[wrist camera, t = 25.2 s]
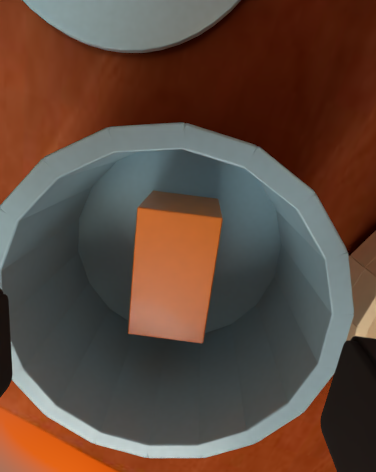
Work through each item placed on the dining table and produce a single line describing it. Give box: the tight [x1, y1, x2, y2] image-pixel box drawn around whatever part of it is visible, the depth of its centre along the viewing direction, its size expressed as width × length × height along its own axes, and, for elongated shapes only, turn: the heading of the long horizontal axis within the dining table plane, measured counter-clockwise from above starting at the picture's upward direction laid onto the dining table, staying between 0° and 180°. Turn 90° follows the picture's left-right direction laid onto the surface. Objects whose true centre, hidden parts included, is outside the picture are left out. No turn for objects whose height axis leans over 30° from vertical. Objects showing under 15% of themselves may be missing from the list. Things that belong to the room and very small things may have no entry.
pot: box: [0, 122, 354, 458], centre depth 16 cm, size 14×14×8 cm
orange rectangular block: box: [128, 191, 223, 344], centre depth 18 cm, size 6×4×5 cm, turn 173°
